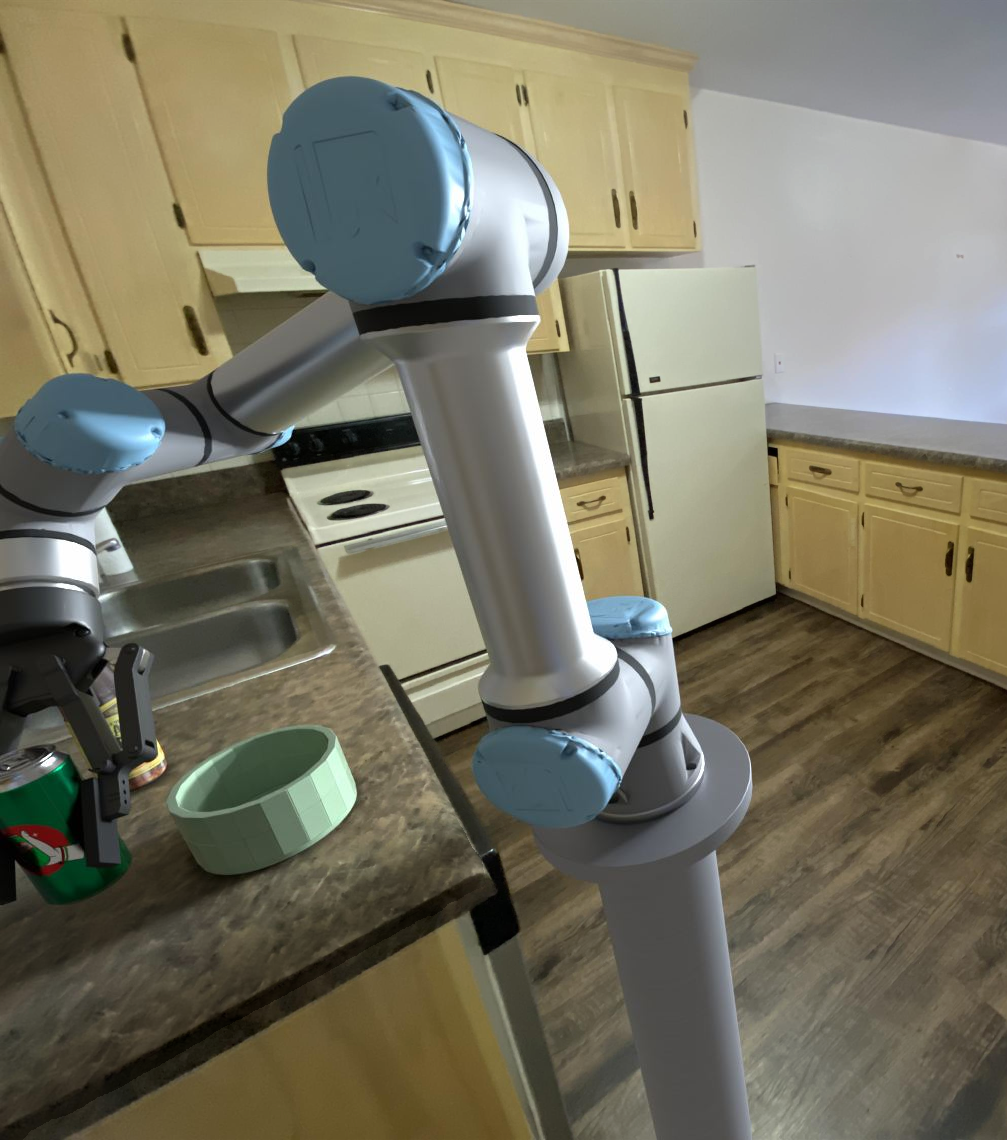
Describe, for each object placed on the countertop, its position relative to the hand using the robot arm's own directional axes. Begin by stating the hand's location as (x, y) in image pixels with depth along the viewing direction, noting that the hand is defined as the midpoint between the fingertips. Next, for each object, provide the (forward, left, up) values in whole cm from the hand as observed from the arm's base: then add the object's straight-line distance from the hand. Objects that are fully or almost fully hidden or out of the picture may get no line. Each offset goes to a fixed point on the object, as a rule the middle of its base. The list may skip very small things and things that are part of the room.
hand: (51, 883), depth 45 cm
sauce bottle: (+9, -39, -14) cm, 42 cm away
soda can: (0, -4, -4) cm, 5 cm away
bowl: (-8, -19, -14) cm, 24 cm away
